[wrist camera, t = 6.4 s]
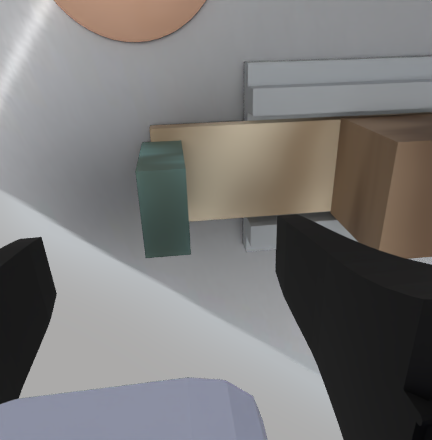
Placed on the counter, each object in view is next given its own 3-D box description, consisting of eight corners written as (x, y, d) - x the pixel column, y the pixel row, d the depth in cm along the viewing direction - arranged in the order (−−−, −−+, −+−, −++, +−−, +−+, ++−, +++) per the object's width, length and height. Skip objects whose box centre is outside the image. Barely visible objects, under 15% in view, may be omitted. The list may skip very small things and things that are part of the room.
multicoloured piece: (445, 111, 20) (532, 133, 15) (425, 198, 22) (497, 241, 17) (141, 125, 18) (133, 155, 14) (151, 217, 20) (147, 270, 16)
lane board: (612, 50, 21) (660, 50, 19) (548, 219, 25) (581, 234, 23) (244, 61, 19) (253, 64, 17) (242, 243, 23) (250, 262, 21)
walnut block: (439, 112, 19) (524, 135, 14) (418, 206, 21) (487, 251, 16) (341, 117, 18) (398, 142, 14) (330, 212, 20) (376, 261, 16)
